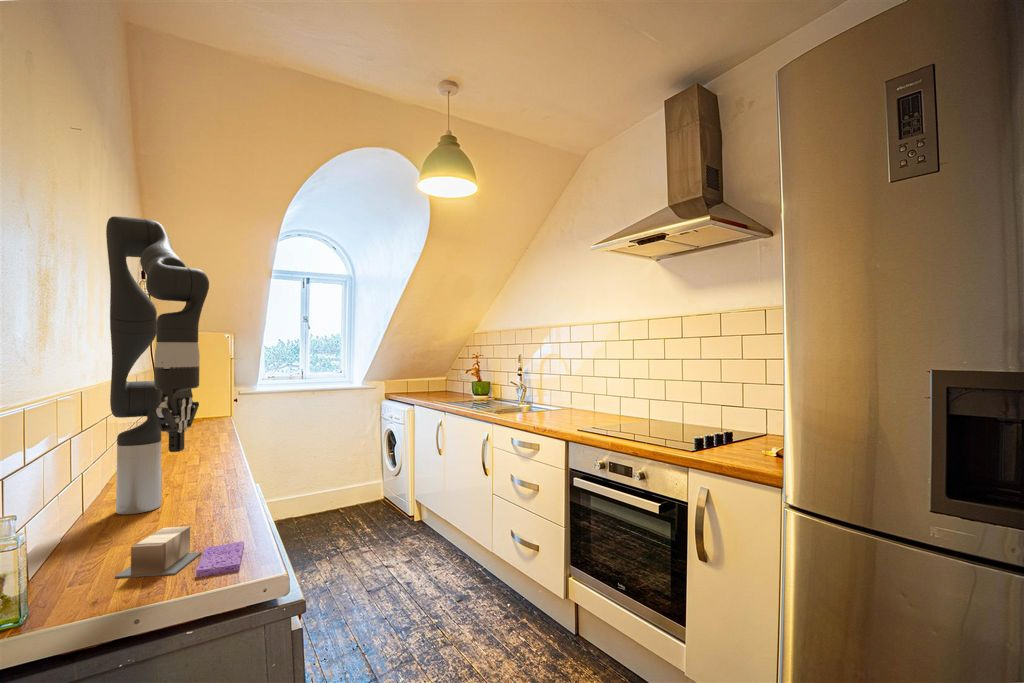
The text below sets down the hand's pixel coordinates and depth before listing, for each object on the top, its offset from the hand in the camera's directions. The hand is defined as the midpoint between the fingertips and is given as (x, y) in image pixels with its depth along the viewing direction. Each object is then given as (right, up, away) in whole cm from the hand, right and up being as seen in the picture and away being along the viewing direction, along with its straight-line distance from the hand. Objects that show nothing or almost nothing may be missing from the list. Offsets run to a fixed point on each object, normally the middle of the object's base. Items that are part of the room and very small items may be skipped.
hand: (176, 451), depth 98 cm
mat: (+1, -21, -5) cm, 21 cm away
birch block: (0, -18, 0) cm, 18 cm away
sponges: (+11, -21, -4) cm, 24 cm away
